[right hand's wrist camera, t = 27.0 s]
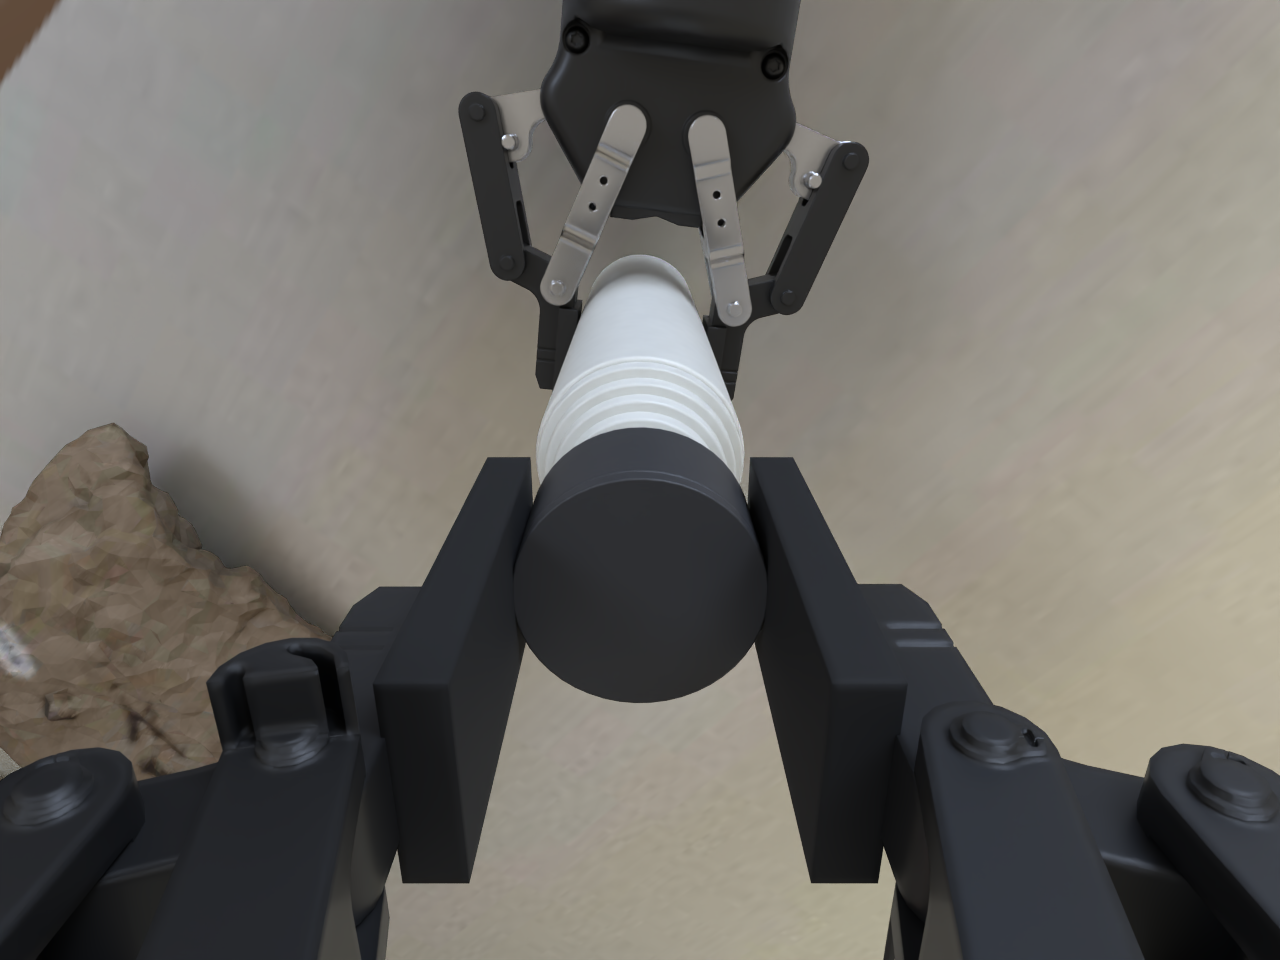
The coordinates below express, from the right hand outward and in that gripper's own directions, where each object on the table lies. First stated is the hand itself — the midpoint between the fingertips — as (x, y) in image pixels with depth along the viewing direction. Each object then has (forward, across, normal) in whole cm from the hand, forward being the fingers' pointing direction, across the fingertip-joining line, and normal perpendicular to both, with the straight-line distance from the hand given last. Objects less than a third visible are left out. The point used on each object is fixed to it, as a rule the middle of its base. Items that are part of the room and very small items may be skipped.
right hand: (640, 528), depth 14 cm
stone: (+23, -23, -17) cm, 37 cm away
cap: (-2, 0, 0) cm, 2 cm away
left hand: (+16, 0, -3) cm, 17 cm away
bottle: (+23, 0, 0) cm, 23 cm away
